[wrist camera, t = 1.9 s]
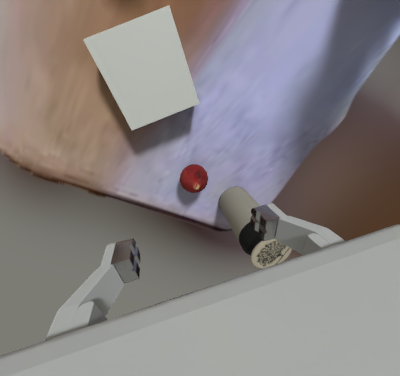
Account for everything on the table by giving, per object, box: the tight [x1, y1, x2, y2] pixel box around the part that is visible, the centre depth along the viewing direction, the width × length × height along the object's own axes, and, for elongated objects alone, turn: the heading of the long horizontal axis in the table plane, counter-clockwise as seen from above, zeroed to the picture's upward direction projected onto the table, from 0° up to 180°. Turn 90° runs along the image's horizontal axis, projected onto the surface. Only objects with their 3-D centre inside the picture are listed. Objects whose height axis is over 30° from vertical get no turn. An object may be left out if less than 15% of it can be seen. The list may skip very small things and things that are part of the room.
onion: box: [180, 165, 208, 193], centre depth 34 cm, size 6×6×8 cm
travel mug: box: [219, 187, 292, 269], centre depth 35 cm, size 8×8×18 cm
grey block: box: [83, 6, 199, 130], centre depth 26 cm, size 12×12×5 cm
